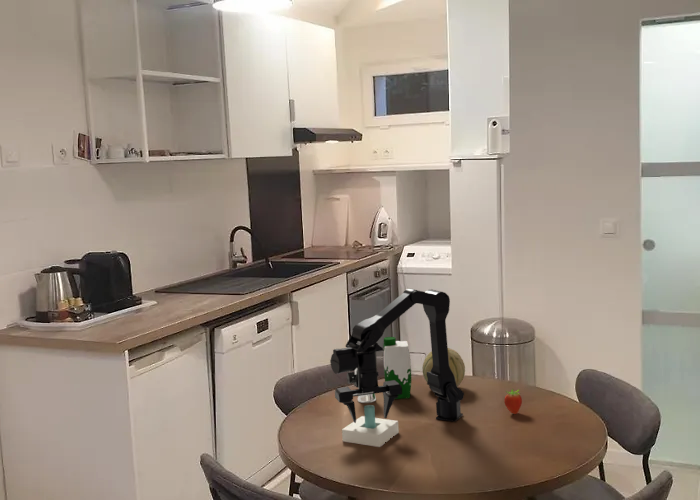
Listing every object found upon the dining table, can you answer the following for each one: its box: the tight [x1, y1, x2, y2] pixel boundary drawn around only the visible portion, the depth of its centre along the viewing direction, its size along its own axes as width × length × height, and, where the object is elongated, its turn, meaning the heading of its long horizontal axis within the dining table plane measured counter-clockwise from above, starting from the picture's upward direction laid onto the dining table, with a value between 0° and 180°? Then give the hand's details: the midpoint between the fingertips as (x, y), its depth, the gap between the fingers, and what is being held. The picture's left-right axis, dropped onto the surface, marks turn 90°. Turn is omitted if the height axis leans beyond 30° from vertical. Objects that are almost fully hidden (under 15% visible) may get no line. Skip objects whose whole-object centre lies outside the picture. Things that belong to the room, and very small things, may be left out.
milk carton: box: [382, 336, 412, 400], centre depth 250 cm, size 9×9×20 cm
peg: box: [363, 404, 376, 429], centre depth 214 cm, size 3×3×9 cm
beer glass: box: [354, 368, 377, 404], centre depth 247 cm, size 7×7×15 cm
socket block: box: [341, 415, 400, 448], centre depth 215 cm, size 12×12×4 cm
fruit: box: [503, 389, 523, 415], centre depth 227 cm, size 5×5×8 cm
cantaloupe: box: [422, 347, 466, 388], centre depth 254 cm, size 15×15×15 cm
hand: (370, 420), depth 214 cm, fingers open, 9 cm apart
